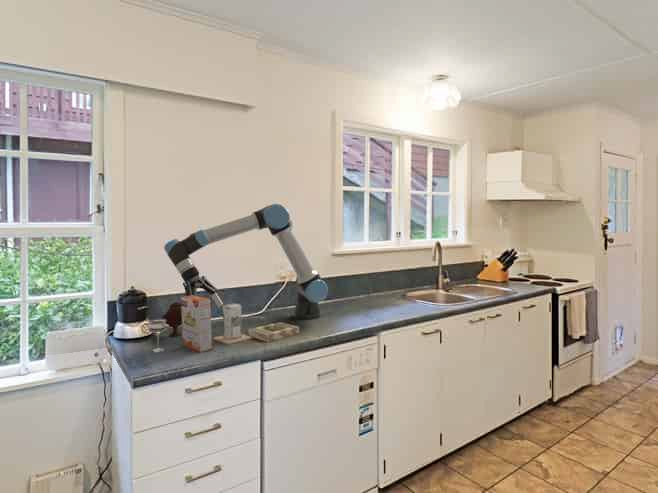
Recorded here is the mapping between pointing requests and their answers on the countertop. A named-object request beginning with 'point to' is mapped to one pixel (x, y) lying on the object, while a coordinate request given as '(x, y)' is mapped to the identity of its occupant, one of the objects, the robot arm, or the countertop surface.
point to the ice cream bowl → (174, 318)
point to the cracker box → (196, 323)
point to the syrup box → (232, 321)
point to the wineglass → (157, 330)
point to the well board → (273, 331)
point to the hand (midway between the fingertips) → (212, 309)
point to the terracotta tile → (232, 341)
